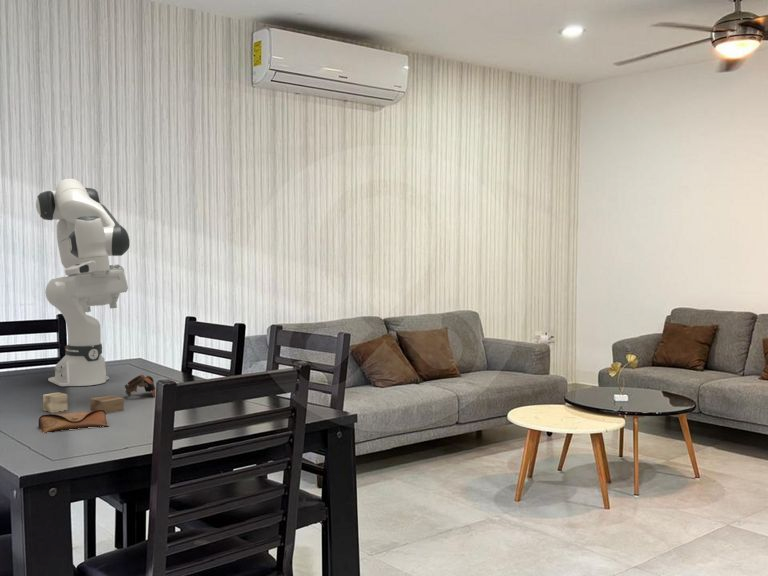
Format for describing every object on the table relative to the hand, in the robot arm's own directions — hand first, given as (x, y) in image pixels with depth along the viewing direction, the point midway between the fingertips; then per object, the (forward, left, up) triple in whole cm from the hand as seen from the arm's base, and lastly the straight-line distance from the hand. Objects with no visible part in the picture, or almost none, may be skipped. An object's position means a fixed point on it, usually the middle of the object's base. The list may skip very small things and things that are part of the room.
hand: (100, 310), depth 241 cm
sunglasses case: (+21, -22, -31) cm, 43 cm away
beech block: (-2, -14, -30) cm, 33 cm away
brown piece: (-1, +16, -30) cm, 34 cm away
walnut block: (+10, -4, -30) cm, 32 cm away
